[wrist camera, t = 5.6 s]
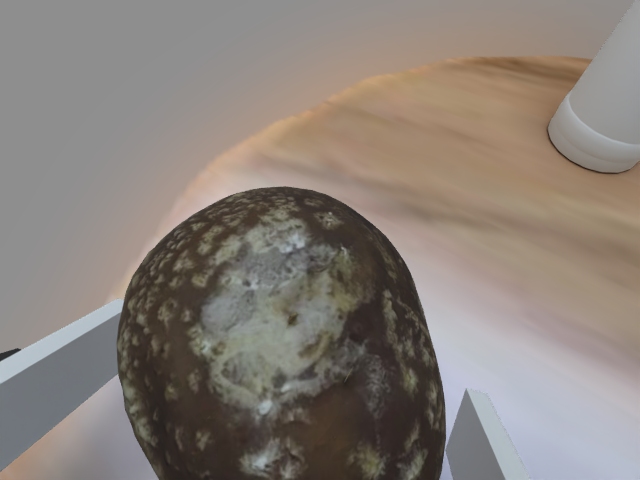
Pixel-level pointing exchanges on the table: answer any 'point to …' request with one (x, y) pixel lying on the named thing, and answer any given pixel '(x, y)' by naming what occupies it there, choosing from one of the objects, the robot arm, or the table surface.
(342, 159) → the table surface
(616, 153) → the bottle
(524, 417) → the table surface
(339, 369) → the mushroom
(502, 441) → the robot arm
